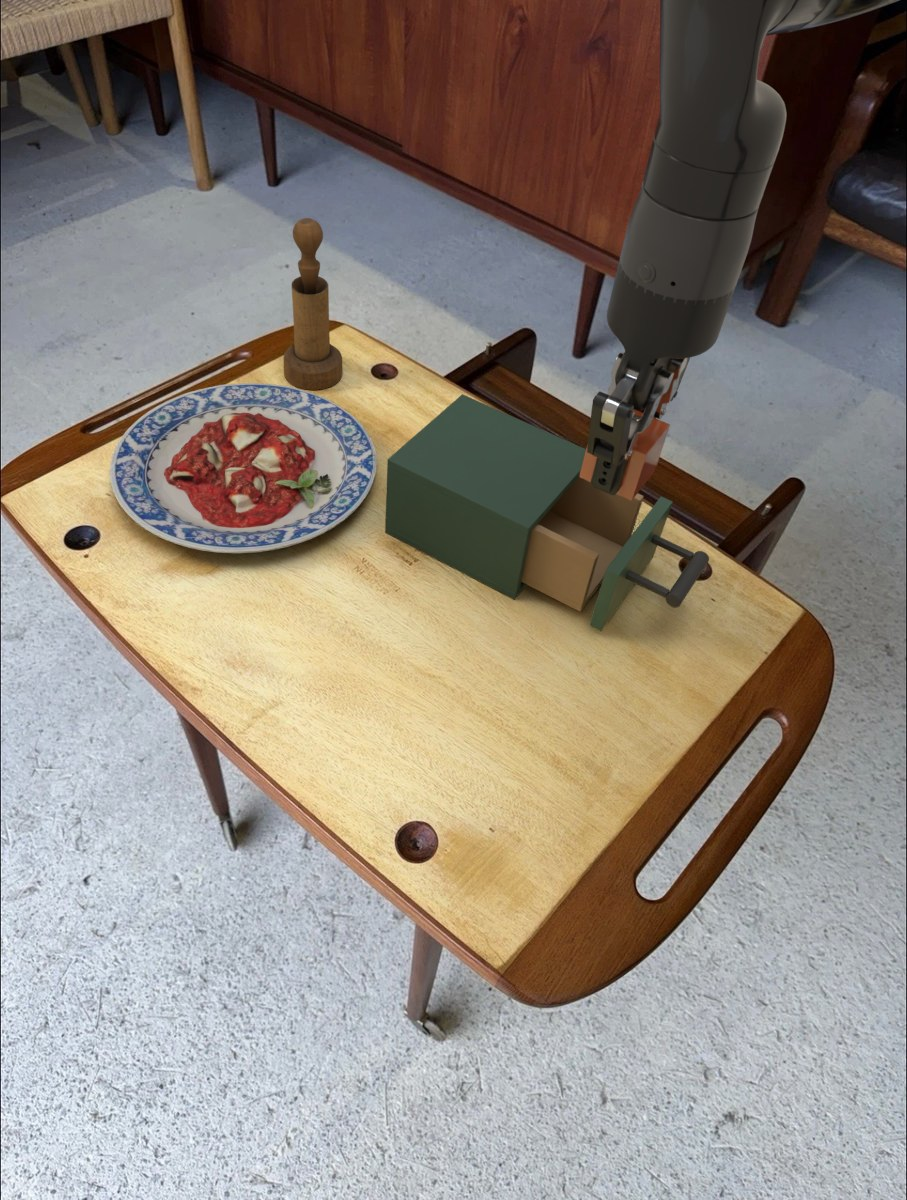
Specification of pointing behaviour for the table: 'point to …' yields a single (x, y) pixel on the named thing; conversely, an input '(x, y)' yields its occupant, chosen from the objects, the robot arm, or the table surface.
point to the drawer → (602, 551)
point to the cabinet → (477, 490)
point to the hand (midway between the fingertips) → (619, 470)
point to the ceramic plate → (243, 468)
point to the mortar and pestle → (311, 318)
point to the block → (636, 459)
